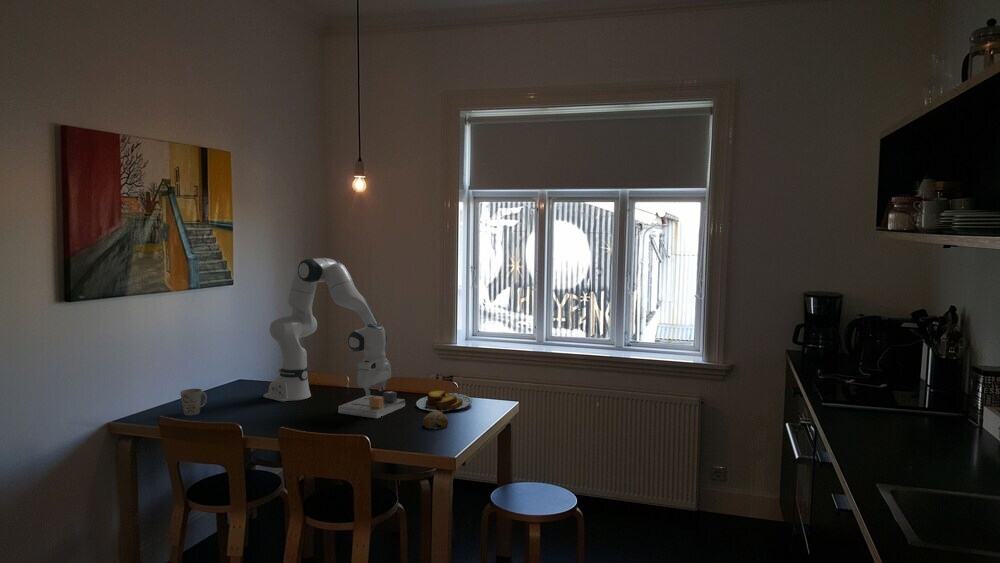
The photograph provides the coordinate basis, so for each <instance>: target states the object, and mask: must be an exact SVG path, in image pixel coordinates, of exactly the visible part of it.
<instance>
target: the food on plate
mask: <svg viewBox="0 0 1000 563" xmlns="http://www.w3.org/2000/svg"><path fill="white" fill-rule="evenodd" d="M472 402H473V398H471V397H470V396H467V395H466V394H461V393H456V392H454V393H453V392H452V393H450V392H449V393H447V392H446V391H445V390H432V391H429V392H428V393H427V396H424V397H421V398H419V399H418V400H417V401H416V402H415V403H416V404H415V406H416V407H418V409H421V410H426V411H429V412H432V411H440V412H447V411H448V412H449V411H454V410H460V409H465V408H466V410H468V409H469V408H468V407H469V406H470V405H471V404H472ZM426 407H427V408H426Z"/></svg>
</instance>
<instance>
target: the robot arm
mask: <svg viewBox="0 0 1000 563" xmlns="http://www.w3.org/2000/svg"><path fill="white" fill-rule="evenodd" d="M318 283H326V285H327V287H328V288H327V289H328V291H329V294H330V296H331V298H332V300H333V302H334V303H335V304H336V305H337V306H340V307H342V308H346V309H350V310H352V311H354V312H356V313H357V314H358V315H359V316H360V318H361V320H362V322H363V324H364V325H365V326H364V327H363V328H359V329H356V330H353V331H351V332H350V334H348V338H347V345H348V347H349V349H351V351H352V352H355V353H360V352H361V353H362V352H364V357H363V358H362V359H361V360H360V361H359V362H358V363H357V364H356V365H357V366H356V367H357V369H358V371H357V374H356V375H357V379H356V380H357V382H356V383H357V385H358V387H359V388H363V389H364V392H365V396H370V395H372V391H371V390H370V388H371V386H373V385H375V384H379V383H380V384H379V386H378V391H379V392H383V391H384V390H385V386H386V381H387V380H390V379H391V378H392V369H391V364H390V360H389V359H388V358H386V357H387V356H386V355H387V354H386V350H385V349H386V344H387V341H388V336H387V332H386V330H385V328H384V326H383V325H381V323H380V322H379V321H378V319H377V317H376V314H375V313H374V311H373V308H372V307H371V306H370V304H369V303H368V300H367V298H366V297H364V296H363V295H362V294H361V293H360V292H359V290H358V289H357V287H356V286H355V282H354V281H353V278H352V276H351V274H350V272H349V271H348V268H346V266H345V265H344V264H343V263H342V262H341V261H340V260H338V259H335V258H333V257H332V258H328V257H319V258H306V259H304V260H301V262H300V263H299V265H298V266H297V270H296V272H295V274H294V276H293V280H292V282H291V286H290V289H289V295H288V300H287V303H288V305H289V306H290V308H291V309H292V314H291V315H290V316H282V317H279V318H277V319H275V320H273V321H272V322H271V323H270V326H269V334H270V336H271V338H272V339H273V340H275V341H276V342H277V344H278V345H279V347H280V351H281V360H282V367H281V368H279V369H278V370H277V373H279V376H277V377H276V378H275V379H274V380H273V381H271V382H270V383H269V385H268V386H269V387H268V392H266V393H264V394H263V398H266V399H270V400H275V401H279V402H287V401H291V402H292V401H301V400H305V399H308V398H310V397H312V394H311V390H310V386H309V384H310V383H309V378H308V376H309V368H308V358H307V357H308V356H307V355H308V354H307V352H308V351H307V350H306V349H305V348H304V347H302V346H301V344H300V339H301V338H305V337H308V336H311V335H312V334H315V332H316V331H317V329H318V321H317V319H316V317H315V316H314V315H313V314H314V313H313V304H314V298H315V296H316V294H315V293H316V290H317V285H318Z"/></svg>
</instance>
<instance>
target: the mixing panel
mask: <svg viewBox="0 0 1000 563" xmlns="http://www.w3.org/2000/svg"><path fill="white" fill-rule="evenodd" d="M372 396H374V395H372V394H371V395H370V396H366V395H364V396H362V397H359V398H357V399H353V400H352V401H348V402H346V403H343V404H341V405H338V408H337V409H338V414H341V415H349V416H350V415H351V416H356V417H364V418H372V419H379V418H382V417H383V416H386V415H388V414H391V413H393V412H395V411H398V410H400V409H402V408H403V407H405V406H406V399H403V398H397V401H396V402H393V403H392V402H384V401H383V407H380V408H376V407H370V404H369V398H370V397H372ZM378 396H379V395H378ZM379 397H382V396H379ZM381 416H382V417H381Z"/></svg>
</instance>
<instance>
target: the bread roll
mask: <svg viewBox="0 0 1000 563" xmlns="http://www.w3.org/2000/svg"><path fill="white" fill-rule="evenodd" d="M422 422H423V424H422V425H423V426H424V428H426V429H430V430H439V429H440V428H441V429H446V428H448V425H449V418H448V417H447V416H446V414H444V412H443V411H441V410H440V411H429V412H428V414H427V415H425V416H424V417H423V420H422Z"/></svg>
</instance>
